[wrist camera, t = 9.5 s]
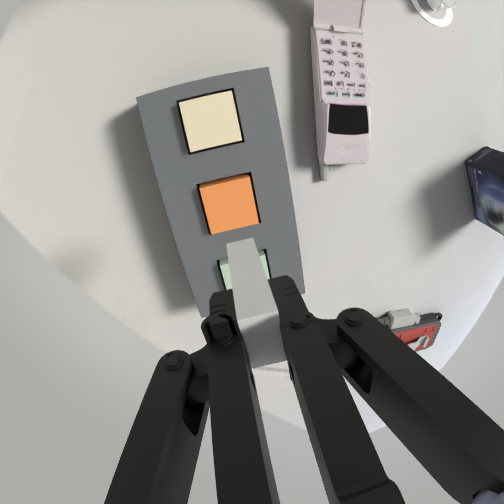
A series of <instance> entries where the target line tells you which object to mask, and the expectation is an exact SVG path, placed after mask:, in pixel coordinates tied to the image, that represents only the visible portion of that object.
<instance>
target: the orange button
mask: <svg viewBox="0 0 504 504" xmlns="http://www.w3.org/2000/svg"><path fill="white" fill-rule="evenodd" d="M200 192H201V196H202V200H203V204H204V208H205V212H206V216H207V219H208V223H209V227H210V231H211V234H216V233H220V232H225V231H229V230H233V229H237V228H242V227H246V226H250V225H255V224H259V221H258V216H257V211H256V206H255V201H254V196H253V191H252V186H251V181H250V177H249V175H248V174H247V173H242V174H238V175H233V176H229V177H224V178H220V179H216V180H212V181H208V182H203V183H200Z"/></svg>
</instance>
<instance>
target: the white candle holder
mask: <svg viewBox="0 0 504 504" xmlns="http://www.w3.org/2000/svg"><path fill="white" fill-rule="evenodd" d="M411 1H412V3H413V5H414V7H415V8H416V10H417V11H418V12H419V13H420V15H421V16H422V17H423V18H424V19H426V20H427V21H428V22H430V23H431V24H433V25H435V26H438V27H445V26H447V25H449V24H450V22H451V20H452V8H455V7H456V6H457V0H426V1H427V3H428V5H429V6H430V7H431V8H432V9H433V10H436V11H439V10H442V9H446V16H445V17H444V18H443V19H441V20H437V19H434V18H432V17H430V16H429V15H427V14H426V13H425V12H424V11H423V10H422V8H421V7H420V5H419V4H418V2H417V0H411Z"/></svg>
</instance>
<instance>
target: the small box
mask: <svg viewBox="0 0 504 504" xmlns="http://www.w3.org/2000/svg"><path fill="white" fill-rule="evenodd" d="M465 164H466V168H467V173H468V178H469V183H470V188H471V194H472V200H473V206H474V213H475V219H477V220H478V221H480V222H482V223H484V224H485V225H487V226H489V227H490V228H492V229H494V230H495V231H497V232H498V233H500V234H502V235H503V236H504V152H501V151H498V150H495V149H491V148H489V147H487V146H486V147H485V148H484V149H482V150H481V151H480V152H478V153H477V154H475V155H474V156H472V157H470V158H469V159H468V160H466V161H465Z"/></svg>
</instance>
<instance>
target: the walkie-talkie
mask: <svg viewBox="0 0 504 504" xmlns="http://www.w3.org/2000/svg"><path fill="white" fill-rule="evenodd" d="M437 316H439V317H438V318H436V317H437ZM441 318H442V314H441V313H434V314H433V313H429V314H425V315H418V314H413V313H412V312H411V311H410V310H409V309H405V310H399V311H389V312H388V315H387V317H382V318H380V319H377V320H378V321H379V322H381V323H382V324H383V325H384V326H385V327H387V328H388V329H389V330H390V331H391V332H393V333H394V334H395V335H396V336H397V337H398V338H400V339H401V340H402V341H403V342H404V343H406V344H407V345H408V346H409V347H410V348H411V349H413V350H414V351H419V350H423V349H426V348H428V347H430V346H432V345H433V343H434V341H435V339H436V336H437V334H438V332H439V329H440V327H441V323H440V320H441Z"/></svg>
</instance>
